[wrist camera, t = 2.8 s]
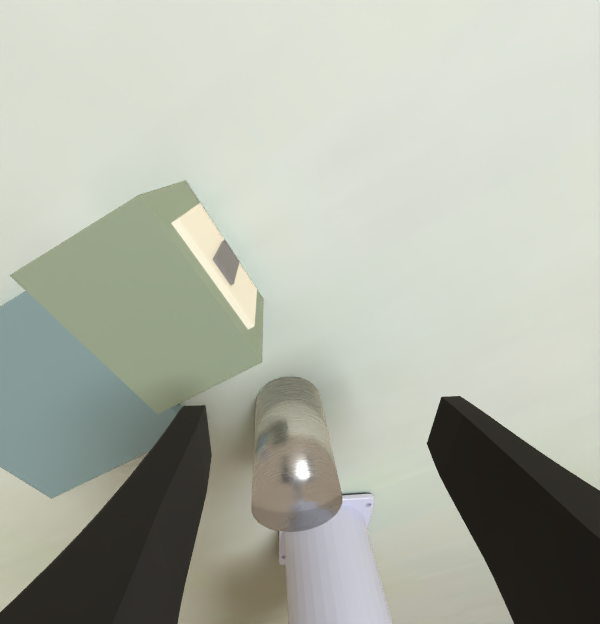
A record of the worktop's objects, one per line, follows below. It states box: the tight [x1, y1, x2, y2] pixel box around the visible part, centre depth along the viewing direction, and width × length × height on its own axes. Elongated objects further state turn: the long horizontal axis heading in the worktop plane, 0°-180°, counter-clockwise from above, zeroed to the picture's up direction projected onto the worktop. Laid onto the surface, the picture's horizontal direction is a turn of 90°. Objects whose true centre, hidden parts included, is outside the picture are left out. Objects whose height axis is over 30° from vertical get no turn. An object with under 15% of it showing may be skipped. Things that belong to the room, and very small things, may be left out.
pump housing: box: [10, 181, 263, 414], centre depth 14 cm, size 5×7×6 cm
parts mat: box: [0, 291, 182, 499], centre depth 19 cm, size 12×12×1 cm
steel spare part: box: [251, 377, 343, 532], centre depth 18 cm, size 4×4×7 cm
